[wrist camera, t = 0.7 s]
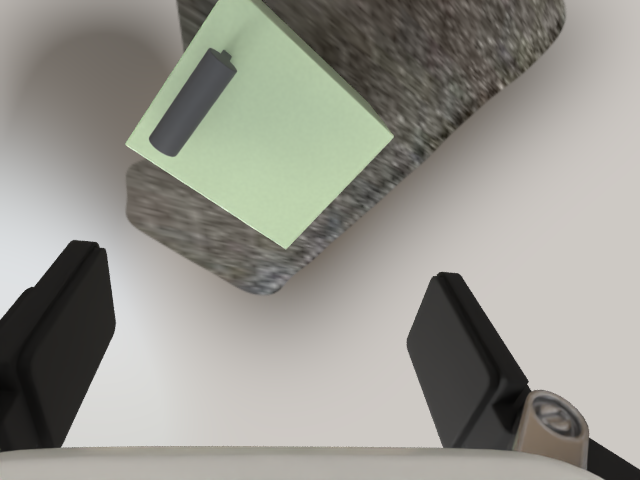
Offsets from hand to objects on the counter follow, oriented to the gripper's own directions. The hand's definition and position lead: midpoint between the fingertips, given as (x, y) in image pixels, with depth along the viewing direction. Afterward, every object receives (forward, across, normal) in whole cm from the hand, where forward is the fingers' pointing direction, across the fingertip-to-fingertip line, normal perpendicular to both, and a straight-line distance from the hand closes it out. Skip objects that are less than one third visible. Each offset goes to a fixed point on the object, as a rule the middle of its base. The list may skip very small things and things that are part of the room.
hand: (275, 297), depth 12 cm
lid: (+22, +1, +2) cm, 22 cm away
